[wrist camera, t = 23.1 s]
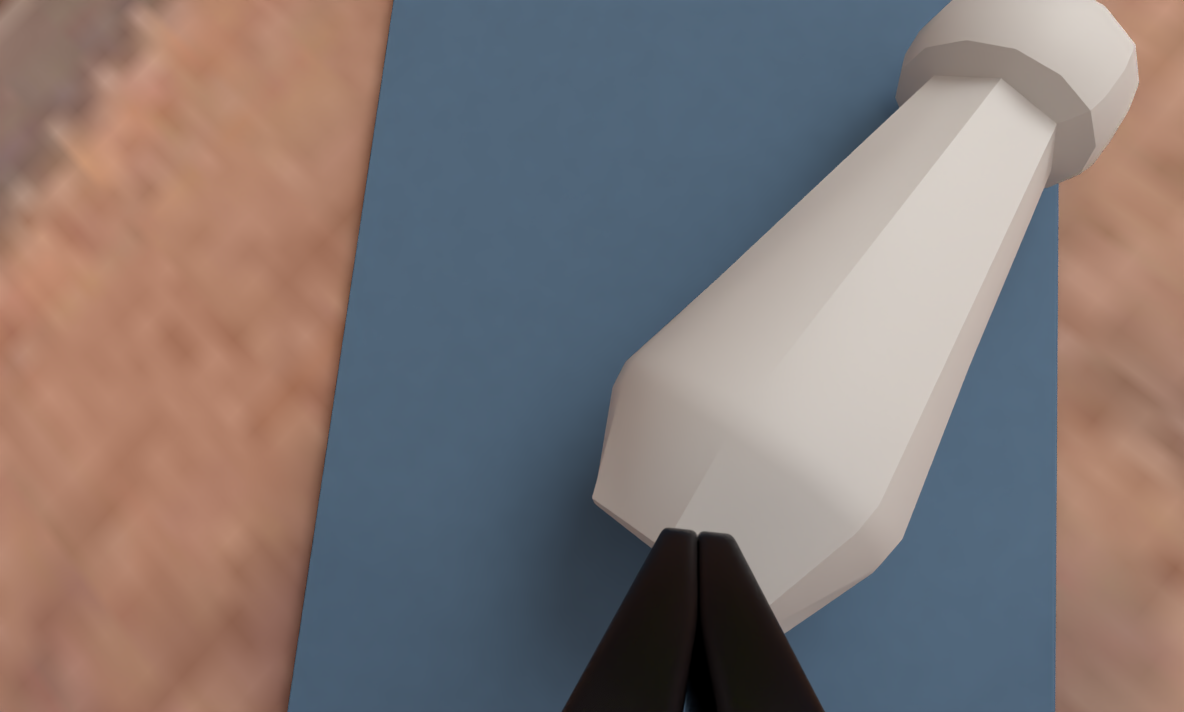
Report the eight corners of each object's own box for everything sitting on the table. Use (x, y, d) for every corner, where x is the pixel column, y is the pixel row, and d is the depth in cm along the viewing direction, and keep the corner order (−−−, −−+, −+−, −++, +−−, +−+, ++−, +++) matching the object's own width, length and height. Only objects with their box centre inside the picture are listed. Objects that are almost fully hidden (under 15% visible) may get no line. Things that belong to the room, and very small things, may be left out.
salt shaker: (529, 446, 12) (974, -143, 14) (559, 479, 18) (875, 53, 20) (866, 697, 11) (1287, 22, 13) (783, 648, 17) (1090, 179, 19)
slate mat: (1046, 1000, 16) (1053, 1010, 15) (265, 885, 17) (259, 892, 17) (1054, -93, 19) (1061, -102, 19) (415, -116, 21) (411, -125, 21)
